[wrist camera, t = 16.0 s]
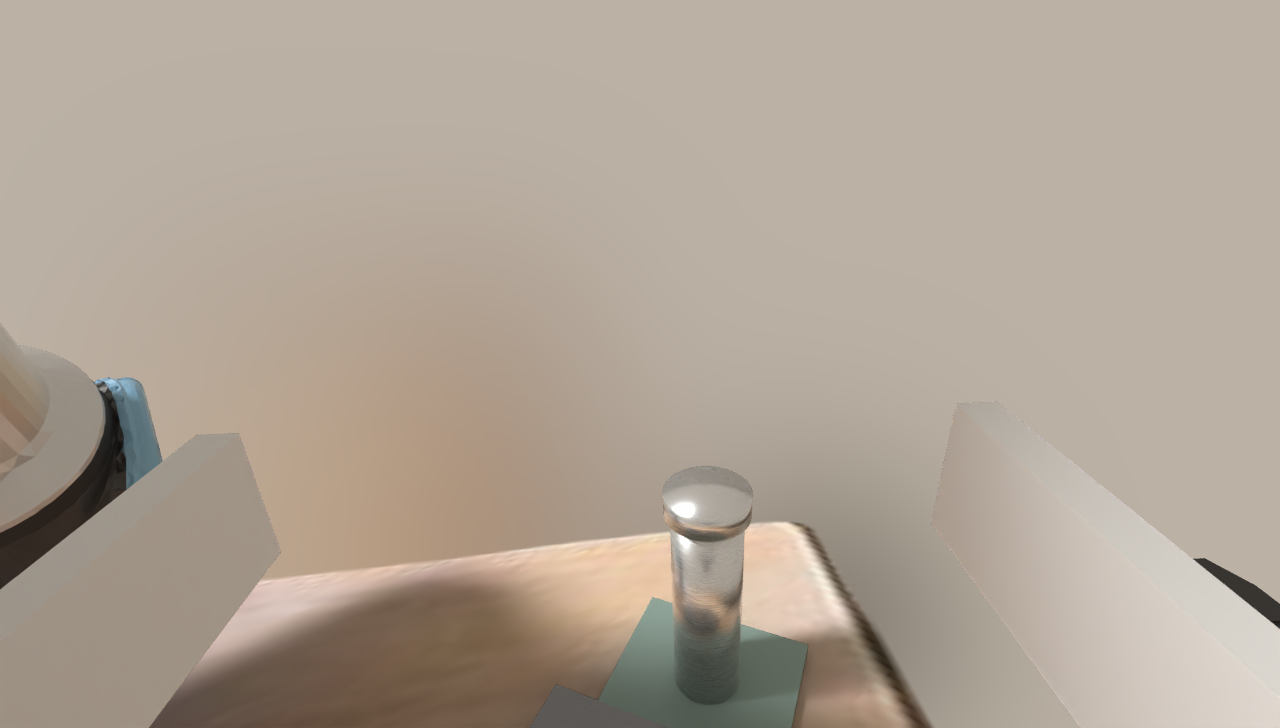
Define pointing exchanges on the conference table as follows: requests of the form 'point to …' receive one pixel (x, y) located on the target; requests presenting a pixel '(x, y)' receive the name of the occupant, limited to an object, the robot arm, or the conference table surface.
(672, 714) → the rubber mat
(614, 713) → the socket plate
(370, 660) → the conference table surface
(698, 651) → the steel pin
